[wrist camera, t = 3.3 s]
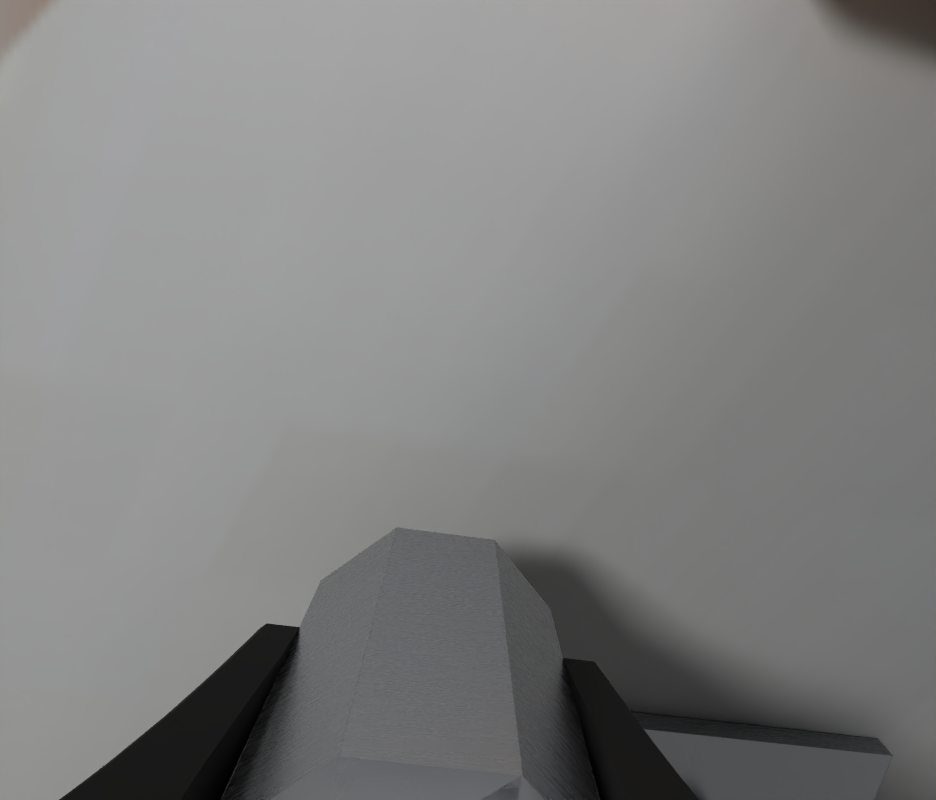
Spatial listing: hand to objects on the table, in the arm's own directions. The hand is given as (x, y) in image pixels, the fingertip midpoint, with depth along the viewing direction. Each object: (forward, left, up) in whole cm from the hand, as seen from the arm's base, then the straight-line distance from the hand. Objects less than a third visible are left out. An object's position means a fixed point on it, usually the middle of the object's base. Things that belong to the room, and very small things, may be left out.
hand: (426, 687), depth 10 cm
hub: (0, 0, -1) cm, 1 cm away
